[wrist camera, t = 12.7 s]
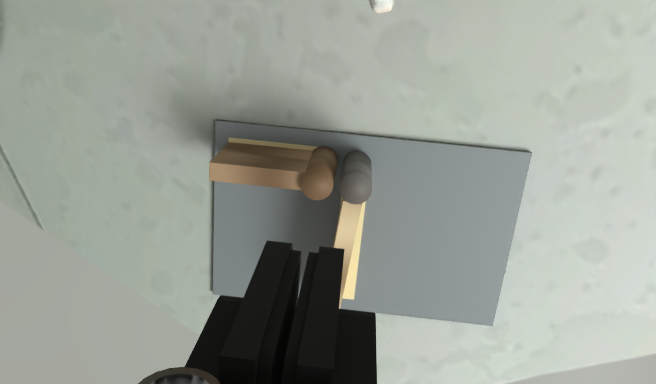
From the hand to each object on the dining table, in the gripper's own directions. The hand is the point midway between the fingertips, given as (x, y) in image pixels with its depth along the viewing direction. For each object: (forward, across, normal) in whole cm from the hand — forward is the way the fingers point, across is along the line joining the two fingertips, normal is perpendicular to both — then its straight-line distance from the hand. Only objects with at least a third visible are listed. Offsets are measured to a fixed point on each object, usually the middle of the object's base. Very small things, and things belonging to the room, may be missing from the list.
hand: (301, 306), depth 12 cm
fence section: (+27, +5, +5) cm, 28 cm away
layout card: (+27, -2, +10) cm, 29 cm away
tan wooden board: (+26, -1, +10) cm, 28 cm away
